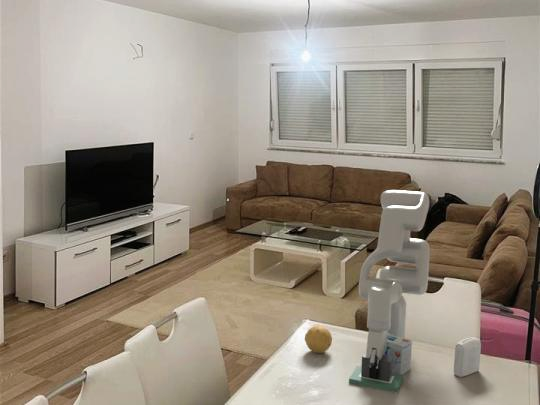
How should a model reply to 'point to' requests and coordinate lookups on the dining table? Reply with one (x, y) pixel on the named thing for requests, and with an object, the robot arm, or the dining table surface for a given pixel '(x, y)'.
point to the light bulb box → (399, 353)
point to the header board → (376, 381)
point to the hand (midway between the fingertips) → (376, 373)
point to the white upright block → (467, 357)
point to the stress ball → (318, 339)
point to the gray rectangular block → (384, 367)
